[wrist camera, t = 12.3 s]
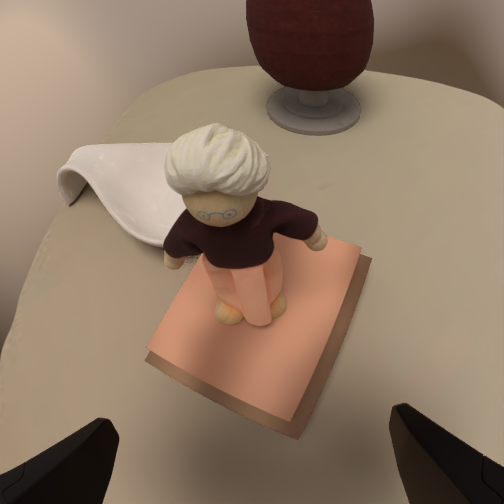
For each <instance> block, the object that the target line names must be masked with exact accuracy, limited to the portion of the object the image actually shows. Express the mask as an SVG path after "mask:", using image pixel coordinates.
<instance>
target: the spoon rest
mask: <svg viewBox="0 0 504 504" xmlns="http://www.w3.org/2000/svg"><path fill="white" fill-rule="evenodd" d="M172 144H173V143H130V144H99V145H87V146H83V147H80V148H78V149H76V150H75V151H74V152H73V153H72V155H71V156H70V158H69V160H68V162H67V163H66V164H65V165H64V166H62V167H61V168H60V170H59V171H58V173H57V187H58V191H59V193H60V195H61V197H62V199H63V201H64V203H65V204H66V205H70V204H71V203H72V202H73V201H74V200H75V199H76V198H77V197H78V195H79V194H80V192H81V190H82V189H83V188H84V186H85V185H86V183H87V182H88V183H89V184H90V185H91V187H92V188H93V190H94V191H95V193H96V194H97V196H98V197H99V199H100V200H101V202H102V204H103V205H104V206H105V208H106V209H107V211H108V212H109V213H110V214H111V216H112V217H113V218H114V219H115V221H116V222H117V223H118V224H119V225H120V226H121V227H122V228H123V229H124V230H125V231H126V232H128V233H129V234H130V235H132V236H133V237H135V238H136V239H138V240H140V241H142V242H144V243H147V244H149V245H153V246H157V247H163V243H164V240H165V238H166V236H167V235H168V233H169V231H170V229H171V228H172V226H173V225H174V223H175V222H176V220H177V219H178V217H179V216H180V215H181V213H182V212H183V211H184V210H185V209H186V206H185V204H184V202H183V199H182V195H180V194H178V193H177V192H175V191H174V190H173V189H171V188H170V186H169V185H168V184H167V181H166V175H165V171H164V165H165V160H166V156H167V154H168V151H169V149H170V147H171V146H172Z"/></svg>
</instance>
